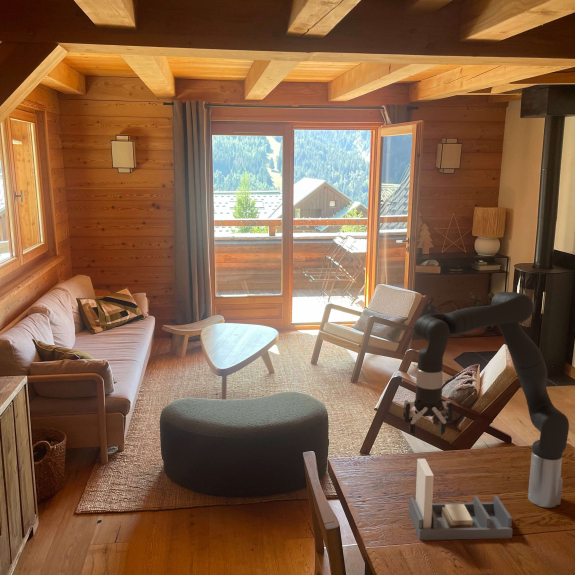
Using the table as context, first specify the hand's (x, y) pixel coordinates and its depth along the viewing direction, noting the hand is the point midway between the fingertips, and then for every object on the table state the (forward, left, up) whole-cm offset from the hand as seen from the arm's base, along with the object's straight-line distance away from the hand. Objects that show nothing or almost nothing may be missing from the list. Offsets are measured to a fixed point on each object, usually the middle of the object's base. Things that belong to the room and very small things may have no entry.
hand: (426, 433), depth 173 cm
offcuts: (-11, 0, -31) cm, 33 cm away
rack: (-11, 0, -32) cm, 34 cm away
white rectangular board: (0, 0, -31) cm, 31 cm away
